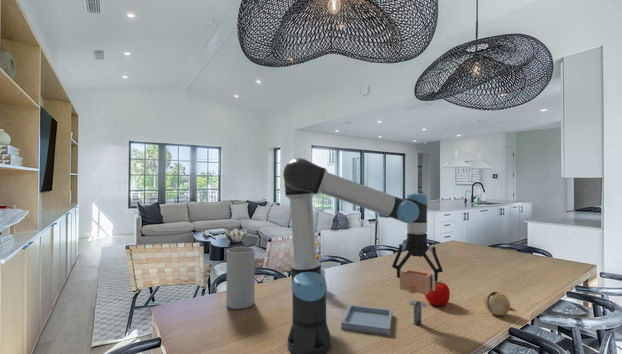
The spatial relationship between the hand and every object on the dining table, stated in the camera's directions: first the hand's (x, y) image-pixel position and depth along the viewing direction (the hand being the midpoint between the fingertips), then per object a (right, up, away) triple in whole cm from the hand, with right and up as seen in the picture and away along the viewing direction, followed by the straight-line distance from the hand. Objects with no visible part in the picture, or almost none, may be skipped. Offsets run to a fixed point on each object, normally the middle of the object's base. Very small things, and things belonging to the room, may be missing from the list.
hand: (416, 287), depth 123 cm
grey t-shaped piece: (0, -14, 0) cm, 14 cm away
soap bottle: (-39, -15, +38) cm, 57 cm away
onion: (+37, -14, +7) cm, 40 cm away
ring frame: (0, 0, 0) cm, 0 cm away
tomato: (+16, -15, +20) cm, 29 cm away
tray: (-19, -14, +2) cm, 24 cm away
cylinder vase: (-74, -15, +20) cm, 78 cm away
